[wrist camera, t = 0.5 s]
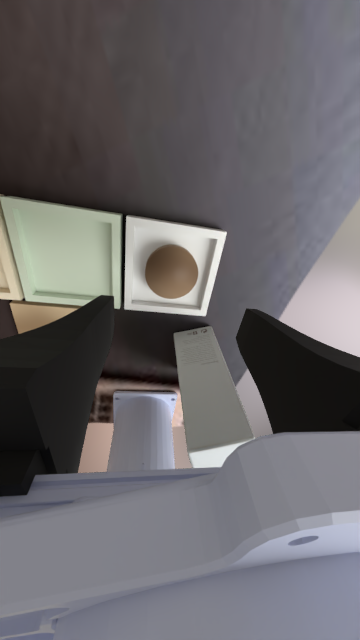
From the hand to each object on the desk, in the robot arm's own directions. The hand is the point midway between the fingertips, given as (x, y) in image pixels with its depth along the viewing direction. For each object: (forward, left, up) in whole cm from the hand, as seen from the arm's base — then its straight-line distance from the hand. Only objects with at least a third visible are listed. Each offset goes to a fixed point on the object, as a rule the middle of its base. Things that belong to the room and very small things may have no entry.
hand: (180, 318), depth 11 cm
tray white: (0, 0, -8) cm, 8 cm away
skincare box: (-9, -4, -9) cm, 13 cm away
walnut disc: (0, 0, -8) cm, 8 cm away
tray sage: (0, +8, -8) cm, 12 cm away
